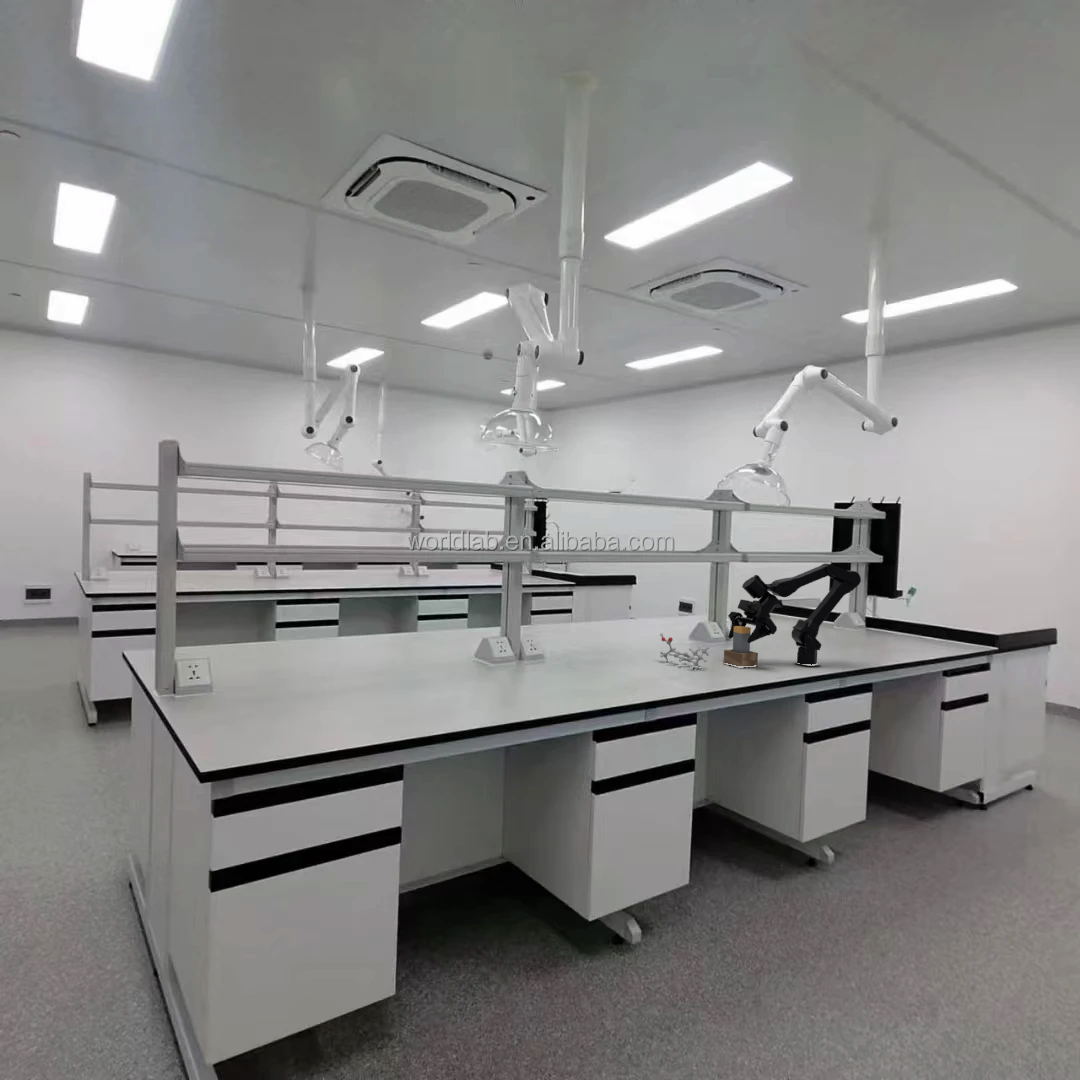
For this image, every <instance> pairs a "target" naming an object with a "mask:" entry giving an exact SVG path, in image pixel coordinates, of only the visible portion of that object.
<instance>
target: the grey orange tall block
mask: <svg viewBox="0 0 1080 1080" xmlns="http://www.w3.org/2000/svg"><path fill="white" fill-rule="evenodd" d="M751 630H752V628H751V627H749V626H734V633H733V637H732V639H733V640H732V649H733V652H737V653H750V651H751V643H748V642H747V640H748V638H749V637H750V635H751V634H752V632H751Z"/></svg>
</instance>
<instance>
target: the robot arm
mask: <svg viewBox="0 0 1080 1080" xmlns="http://www.w3.org/2000/svg"><path fill="white" fill-rule="evenodd" d="M826 577H829V578H830V579H833V583H832V586H831V589H830V590H829V591H828V593H826V595H825V596H824V598H822V600H821V601H820V602H819V604H818V605H817V607H816V608H815V609H814V610H813V611H812V612H811V614H810V615H809V617H808V618H806V619H804V620H803V619H798V620H797V622H796V624H795V625H794V626H792V627H791V628H792V631H791V633H790V634H791V637H792V640H793V641H794V643H795V645H796V646H797V656H796V657H797V658H796V662H797V663H800V664H811V665H812V664H816V663H817V662H818V651H820V650H821V648H822V643H821V642H820V641H819V640H818V639H817V636H818V634H819V630H820V627H821V625H822V624H823V622H824V621H825V620H826V619H827V618H828V616H829V615H830V614H831V613H832V611H833V610H834V609H835V607H836V606H837V605H838V604H839V603H840V601H841V600H842V599H843V597H845V595H848V594H849V593H851V592H853V591H854V590H855V589H856V588H857V587H858V586H859V585H860V584H861V582H862V579H861V575H860V573H859V572H858V571H854V570H848V569H847V570H846V569H844V568H841V567H839V566H836V565H834V564H833V563H823V564H821V565H819V566H816V567H814V568H811V569H809V570H807V571H804V572H801V573H800V574H797V575H795V576H792V577H791V576H790V577H785V578H779V579H775V580H773V581H772V582H771V583H766V582H764V581H763V580H762V578H761V576H760V575H758V574H754V575H753V576H751V577H749V578H748V579H747V580H745V581H744V583H743V584H742V586H741V587H742V588H743V589H744V591H746V593H747V594H748V595H749V596H750V597H751V598H752V599H754V600H752V601H751V600H746V599H740V601H739V603H738V605H737V609H738V610H741V611H743V614H742V613H741V612H739V611H738V612H737V611H731V612H730V613H729V614H728V618H729V621H730V622H731V626H730V629H729V633H728V639H729V640H730V639H733V633H734V626H745V627H747V625H751V626H754V627H755V628H754V630H753V631H752V632H751V633H750V637H749V638H748V640H747V642H748V643H750V644H751V643H753V642H755V641H757V640H760V639H762V638H764V637H768V636H770V635H775V634H776V632H777V630H778V629H777V626H776V623H775V622H774V621H773V619H772V618H771V617H772V615H771V613H772V611H773V610H774V609H775V608H776V609H777V608H783V607H784V604H783V600H782V599H779V598H778V597H780V598H788V597H790V596H791V595H793V594H794V593H796V592H797V591H798V590H799V589H800V588H802V587H804V586H806V585H809V584H812V583H814V582H816V581H818V580H822V579H823V578H826ZM755 599H758V600H755ZM743 615H744V616H743ZM745 616H746V617H745ZM817 664H818V663H817Z"/></svg>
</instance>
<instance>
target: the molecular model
mask: <svg viewBox="0 0 1080 1080" xmlns="http://www.w3.org/2000/svg"><path fill="white" fill-rule="evenodd" d="M659 635H660V637H661V641H662V642H666V645H668V646H669V651H667V652H663V651H660V653H659V654H660V656H659V657H660V658H665V661H666V660H667V661H668V660H669V659H668V656H669V657H671V656H672V657H674V658H676V659H677V658H678V662H679V663H682V662H684V661H685V662H688V663H693V665H692V667H693V668H694V667H695V668H696V667H698V668H699V667H701V668H702V665H700V664H699V662H700V661H701V660H702V661H703V662H704V663H707V661H708V660H707V659H706V658H703V657H704V654H705V655H706V656H708V657H709V656H710V654H709V652H707V651H708V650H710V646H709V645H707V646H706V648H705V649H703V648H702V646H700V645H699V646H698V647H697V649H696V650H693V648H692V647H689V648H688V651H690V652H691V653H692V655H691V654H689V652H688V651H685V652H684V653H683V652H680V651H679V650H677V651H676V649H677V648H676V647H672V645H671V643H672V641H674V640H673V637H671V636H670V637H668V639H666V637H664V633H662V632H660V634H659ZM700 650H701V654H700V655H699V654H698V652H700ZM695 656H696V657H695ZM694 660H696V661H694ZM668 662H669V661H668Z"/></svg>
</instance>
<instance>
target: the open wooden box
mask: <svg viewBox="0 0 1080 1080" xmlns="http://www.w3.org/2000/svg"><path fill="white" fill-rule="evenodd" d="M758 658H759V652H756V651H752V650H750V653H737V652H733V648H731V649H724V650H723V664H724V663H728V664H732V665H736V666H754V665H757V666H758V661H759V659H758Z"/></svg>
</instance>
